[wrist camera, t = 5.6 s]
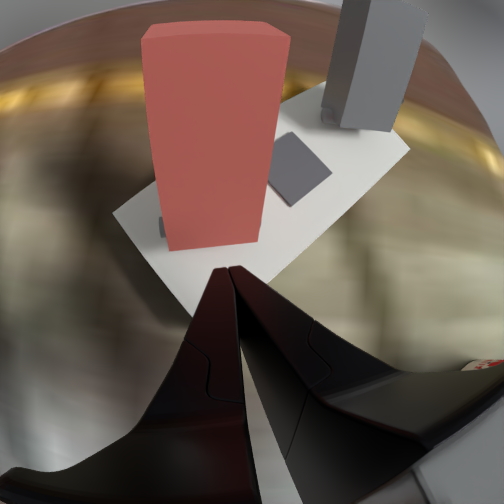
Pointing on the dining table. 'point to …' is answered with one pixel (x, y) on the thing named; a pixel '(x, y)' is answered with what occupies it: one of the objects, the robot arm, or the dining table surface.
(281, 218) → the power strip
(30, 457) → the dining table surface
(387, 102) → the block
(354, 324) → the dining table surface
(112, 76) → the dining table surface
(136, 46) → the dining table surface
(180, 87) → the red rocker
